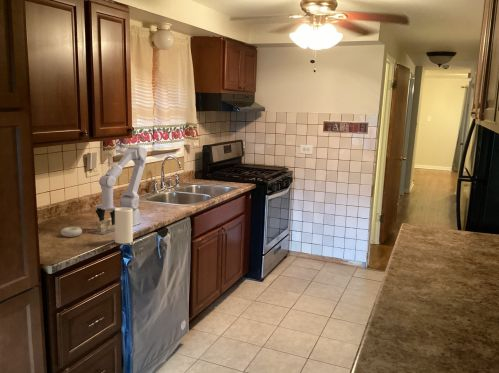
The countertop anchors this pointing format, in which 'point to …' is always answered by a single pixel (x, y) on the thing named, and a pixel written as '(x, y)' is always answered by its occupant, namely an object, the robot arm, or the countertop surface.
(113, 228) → the mat
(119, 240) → the cup
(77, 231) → the donut
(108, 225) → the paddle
